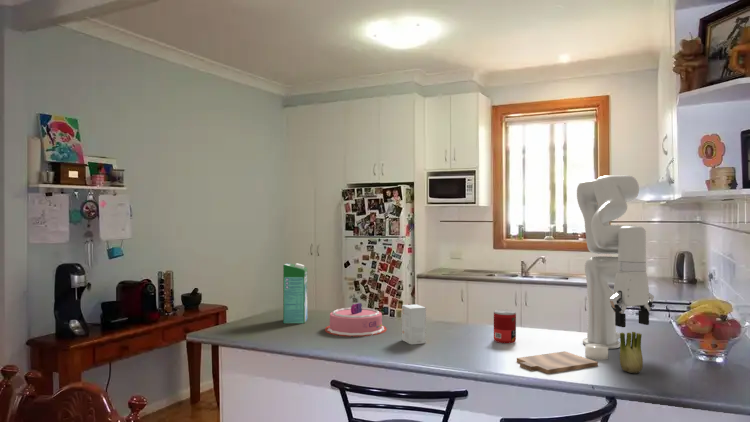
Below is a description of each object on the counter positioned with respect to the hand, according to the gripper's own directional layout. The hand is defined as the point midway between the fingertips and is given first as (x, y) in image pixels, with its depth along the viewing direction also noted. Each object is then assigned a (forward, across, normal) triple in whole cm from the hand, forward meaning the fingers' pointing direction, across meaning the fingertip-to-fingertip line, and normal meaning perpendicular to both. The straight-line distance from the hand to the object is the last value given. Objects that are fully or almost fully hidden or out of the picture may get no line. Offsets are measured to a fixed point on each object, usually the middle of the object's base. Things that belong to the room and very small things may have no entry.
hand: (632, 325), depth 164 cm
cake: (+13, +52, -89) cm, 104 cm away
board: (+14, +15, -17) cm, 26 cm away
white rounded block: (+14, -4, -18) cm, 23 cm away
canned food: (+13, +10, -48) cm, 51 cm away
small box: (+14, +40, -61) cm, 74 cm away
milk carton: (+13, +70, -114) cm, 134 cm away
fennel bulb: (+14, 0, -1) cm, 14 cm away
